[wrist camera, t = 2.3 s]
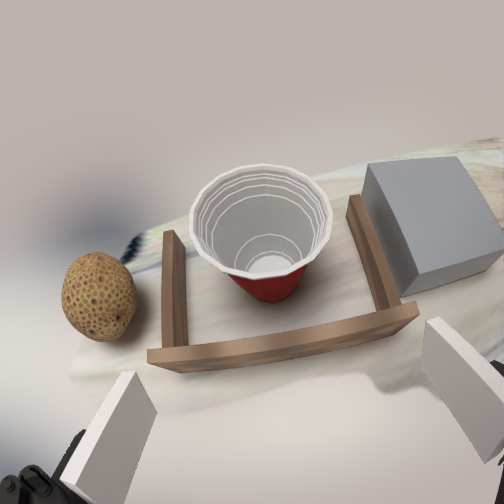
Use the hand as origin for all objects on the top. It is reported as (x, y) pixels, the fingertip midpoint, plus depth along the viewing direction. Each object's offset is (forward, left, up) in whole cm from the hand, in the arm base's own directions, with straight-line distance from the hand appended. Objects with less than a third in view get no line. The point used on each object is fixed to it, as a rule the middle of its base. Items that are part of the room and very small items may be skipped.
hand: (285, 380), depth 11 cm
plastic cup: (+8, -9, -16) cm, 20 cm away
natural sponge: (+21, +4, -16) cm, 26 cm away
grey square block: (-7, -24, -16) cm, 29 cm away
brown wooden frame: (+7, -8, -16) cm, 19 cm away
